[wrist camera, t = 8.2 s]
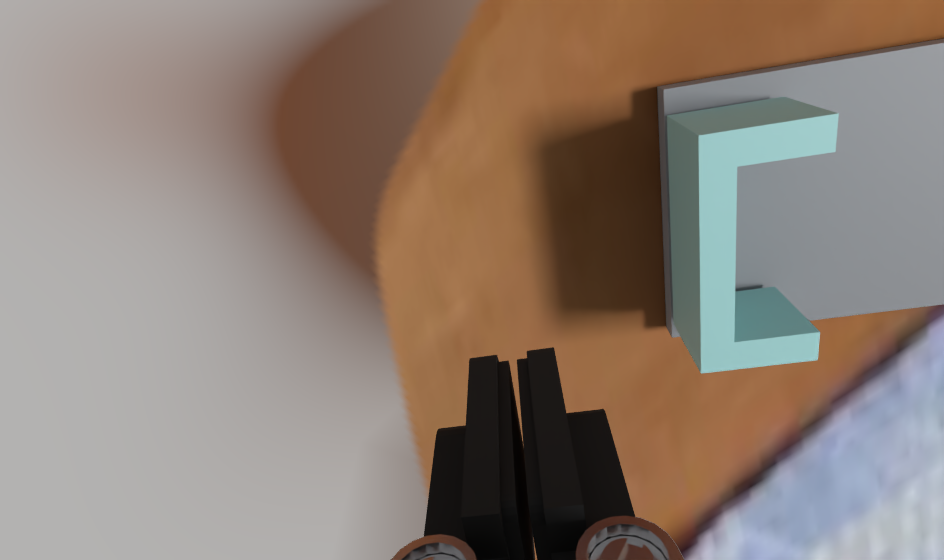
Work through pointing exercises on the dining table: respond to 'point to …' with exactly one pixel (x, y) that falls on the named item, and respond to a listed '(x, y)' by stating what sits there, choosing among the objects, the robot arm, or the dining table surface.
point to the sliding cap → (734, 231)
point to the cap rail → (837, 184)
